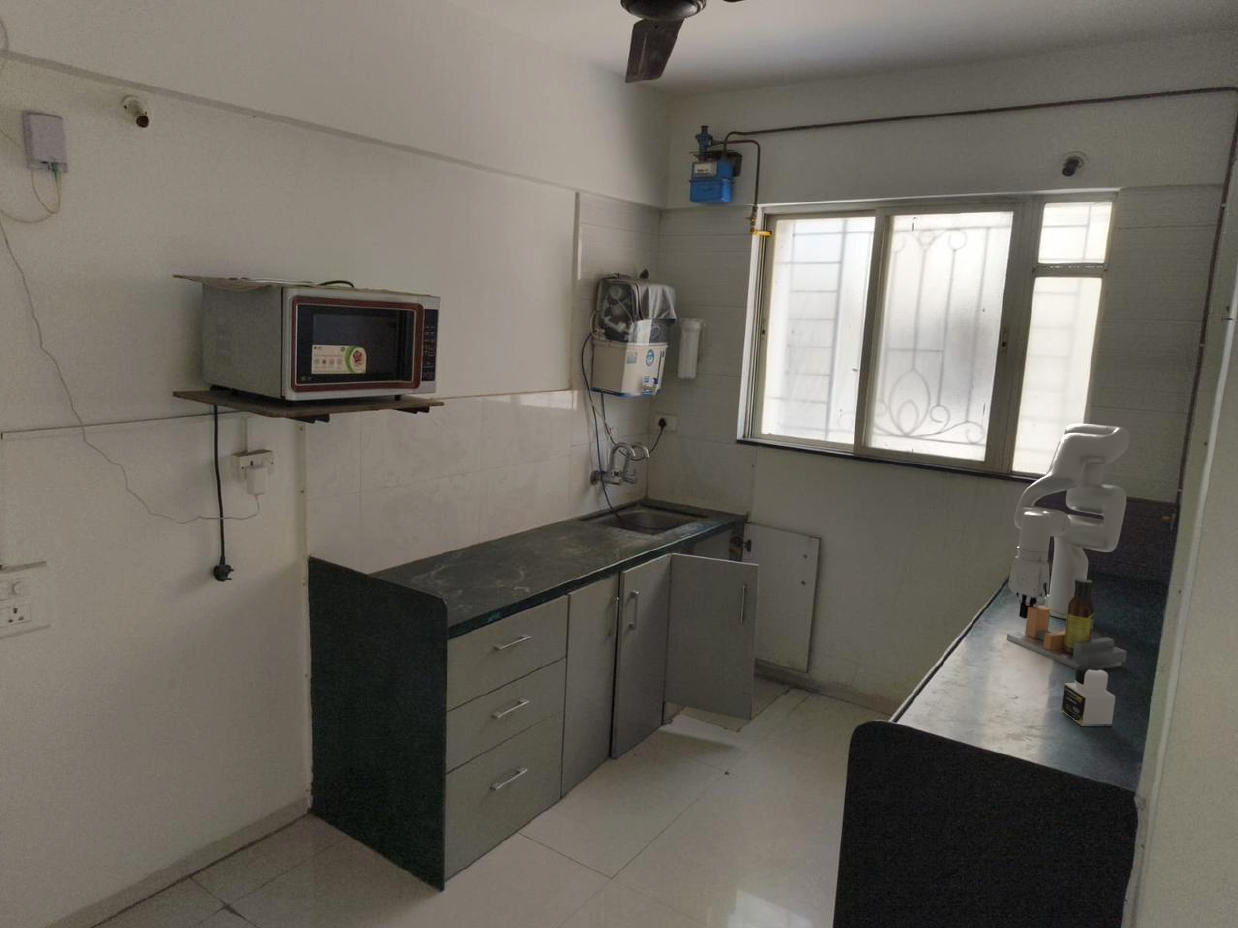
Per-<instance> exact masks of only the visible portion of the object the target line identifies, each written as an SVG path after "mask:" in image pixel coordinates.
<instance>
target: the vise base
mask: <svg viewBox="0 0 1238 928" xmlns="http://www.w3.org/2000/svg"><path fill="white" fill-rule="evenodd" d="M1006 640H1008V641H1010V642H1013V643H1015V644H1017V645H1019V646H1022V647H1024V648H1026V649H1029V650H1031V649H1032V650H1031V651H1033V650H1034V651H1033V652H1035V651H1036V653H1037V654H1040V655H1042V656H1044V657H1045V656H1046V657H1047V658H1049V659H1052V660H1055V661H1057V662H1059V663H1061V664H1063V665H1066V666H1068V667H1070V668H1073V669H1075V670H1076V668H1077V667H1078V666H1080V665H1092V666H1096V667H1099V668H1101V669H1103V670H1105V669H1110V668H1117V667H1122V663H1126V661H1127V652H1128V650H1126V649H1122V648H1119V647H1117V646H1115V640H1114V639H1113V638H1111V637H1107V636H1106V637H1100V638H1095V639H1094V638H1092V639H1091V640H1084V641H1077V642H1075V643H1074V651H1073V654H1071V653H1068V652H1067V651H1065V649H1064V648H1060V649H1053V650H1048V649H1046V648H1043V644H1044V640H1041V639H1039V638H1033V637H1031V636H1028V635H1026V634H1025V631H1021V632H1012V633H1007V634H1006Z"/></svg>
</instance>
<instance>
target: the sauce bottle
mask: <svg viewBox="0 0 1238 928" xmlns="http://www.w3.org/2000/svg"><path fill="white" fill-rule="evenodd" d="M1093 585H1094V584H1093V581H1092V580H1091V579H1080V578H1079V579H1075V593H1074V597H1073V598H1072V599H1071V600H1070V602H1069V604H1068V612H1067V618H1066V619H1065V630H1064V631H1065V638H1064V649H1065V651H1067V652H1068V653H1071V654H1073V651H1074V643H1075V642H1077V641H1084V640H1092V639H1093V628H1094V621H1095V619H1094V618H1095V608H1094V604H1093V600H1092V595H1091V593H1092V587H1093Z"/></svg>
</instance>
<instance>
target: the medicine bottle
mask: <svg viewBox="0 0 1238 928" xmlns="http://www.w3.org/2000/svg"><path fill="white" fill-rule="evenodd" d="M1075 670H1076V671H1075V676H1074V682H1065V683H1064V687H1063V696H1062V702H1061V703H1062V704H1061V712H1062V711H1064V712H1065V713H1067V714H1068V715H1069V716H1071V717H1072V718H1074V719H1075V720H1077V721H1078V722H1080V723H1081V724H1112V725H1113V717H1114V711H1115V703H1116V696H1115V695H1114V694H1113V693H1110V691H1108V690H1107V686H1108V679H1109V673H1108V672H1107V671H1106V670H1105V669H1101V668H1099V667H1096V666H1092V665H1080V666H1078V667H1077V668H1076V669H1075Z"/></svg>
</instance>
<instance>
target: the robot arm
mask: <svg viewBox="0 0 1238 928" xmlns="http://www.w3.org/2000/svg"><path fill="white" fill-rule="evenodd" d="M1130 441H1131V440H1130V433H1129V431H1128V430H1127V429H1126V428H1125V427H1121V426H1116V425H1102V424H1094V423H1092V424H1091V423H1072V424H1069V425H1067V426H1066V428H1065V429H1064V435H1063V436H1062V437H1061V438H1060V440H1059V442H1058V444H1057V447H1056V450H1055V452H1054V455H1053V457H1052V460H1051V462H1050V465H1049V469H1048V471H1047V473H1046V474H1045V475H1044V476H1043V477H1040V478H1039V479H1037V480H1036V481H1034V482H1033V483H1031V485H1030V486H1027V488H1026V489H1025V490H1024V491H1023V493H1022V494H1021V495H1020V499H1019V501H1018V503H1017V506H1016V509H1015V513H1014V515H1013V517H1014V518H1013V523H1014V526H1015V527H1016V529H1019V530H1020V535H1019V543H1018V546H1017V547H1016V552H1017V555H1016V556H1015V557H1014V559H1013V562H1012V565H1011V569H1010V572H1009V578H1008V588H1009V589H1010V590H1011V592H1012V593H1014V595H1016V596H1017V598H1018V603H1020V606H1019V615H1018V616H1019V618H1022V619H1027V614H1028V607H1034V606H1037V605H1036V604H1037V603H1040V604H1041V603H1044V605H1042V606H1044V607H1046V608H1049V609H1050V616H1052V617H1054V618H1059V619H1063V620H1066V618H1067V612H1068V604H1069V602H1070V600H1071V599H1072V598H1073V597H1074V593H1075V579H1079V578H1080V579H1087V578H1088V577H1087V576H1088V572H1089V571H1088V568H1089V559H1088V556H1087V555H1086V553H1085V551H1084V549H1086V550H1093V551H1097V552H1104V553H1110V552H1113V551H1114V550H1115V549H1116V548H1117V546H1118V543H1119V541H1120V536H1121V531H1122V526H1123V521H1124V517H1125V512H1126V507H1127V494H1126V492H1125V490H1124V489H1123V487H1121V486H1117V485H1113V484H1107V483H1102V480H1103V475H1104V470H1105V469H1104V465H1108V464H1111V463H1113V462H1115V460H1117V459H1118V458H1119V457H1121V456H1122V455H1123V454H1124V453H1125V452H1126V450H1128V448H1129V444H1130ZM1064 491H1066V496H1065V504H1066V507H1068V509H1070V510H1072V511H1076V512H1082V513H1087V514H1093V515H1100V516H1102V517H1103V519H1101V518H1100V519H1099V518H1093V517H1090V516H1082V515H1077V514H1076V515H1075V514H1067V513H1066V512H1064V511H1061V510H1057V509H1052V508H1046V507H1041V506H1035V505H1034V504H1035V503H1036V502H1037V501H1038V500H1039V499H1042V498H1043V497H1045V496H1047V495H1048V496H1049V495H1051V494H1055V493H1060V492H1064ZM1051 537H1053V539H1054V540H1053V541H1054V550H1053V551H1054V552H1053V560H1052V561H1053V562H1052V568H1051V577H1050V565H1049V564H1050V563H1049V562H1048V560H1049V548H1050V542H1051V540H1050V539H1051ZM1087 580H1088V579H1087Z"/></svg>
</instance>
